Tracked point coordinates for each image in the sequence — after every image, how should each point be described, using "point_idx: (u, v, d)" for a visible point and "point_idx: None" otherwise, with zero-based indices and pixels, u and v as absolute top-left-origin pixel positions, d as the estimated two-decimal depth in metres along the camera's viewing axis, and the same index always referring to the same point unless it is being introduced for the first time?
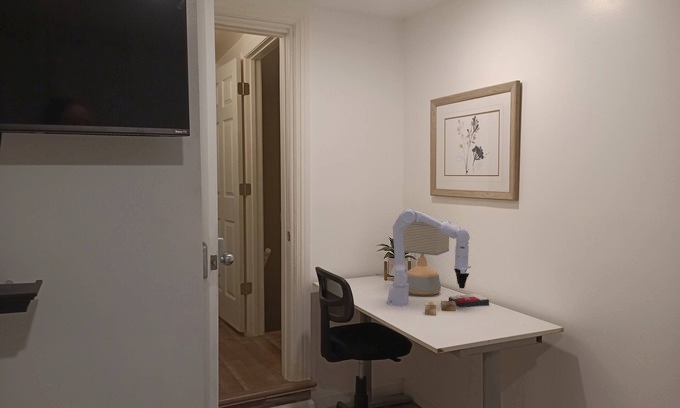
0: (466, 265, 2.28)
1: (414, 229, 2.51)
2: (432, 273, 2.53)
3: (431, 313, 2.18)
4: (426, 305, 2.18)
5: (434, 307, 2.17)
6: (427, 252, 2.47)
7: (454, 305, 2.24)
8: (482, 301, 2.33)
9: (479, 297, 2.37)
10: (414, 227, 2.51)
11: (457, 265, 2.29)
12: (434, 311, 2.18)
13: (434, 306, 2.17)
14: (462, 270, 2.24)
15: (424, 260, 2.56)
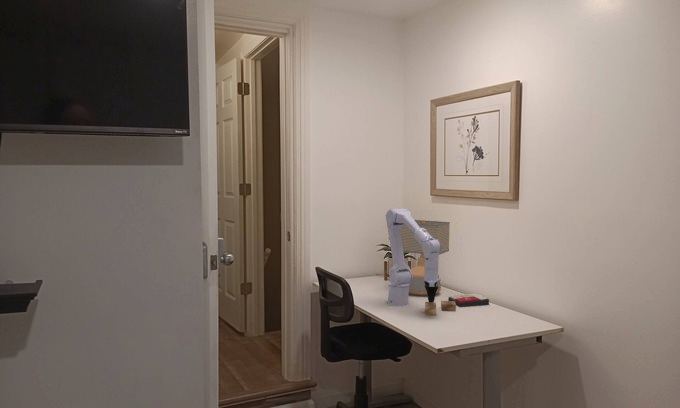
0: (435, 277, 2.17)
1: None
2: None
3: (431, 313, 2.18)
4: (426, 305, 2.18)
5: (434, 307, 2.17)
6: None
7: (454, 305, 2.24)
8: (482, 301, 2.34)
9: (479, 297, 2.38)
10: None
11: (426, 278, 2.17)
12: (434, 311, 2.18)
13: (434, 306, 2.17)
14: (431, 283, 2.12)
15: (424, 260, 2.56)
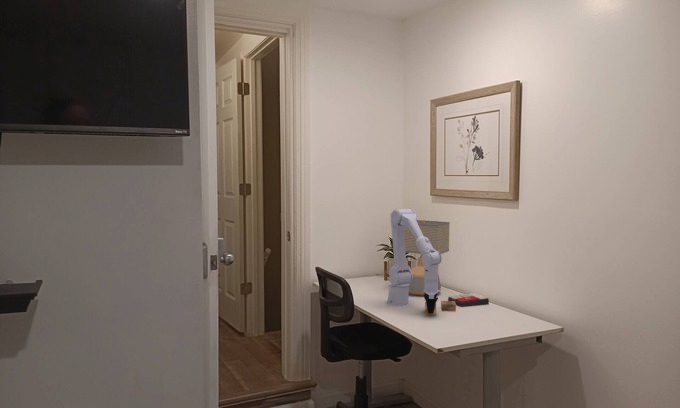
0: (435, 289, 2.17)
1: None
2: None
3: (431, 313, 2.18)
4: (426, 305, 2.18)
5: None
6: None
7: (454, 305, 2.24)
8: (482, 300, 2.35)
9: (478, 296, 2.38)
10: None
11: (426, 289, 2.18)
12: (434, 311, 2.18)
13: None
14: (430, 295, 2.12)
15: None
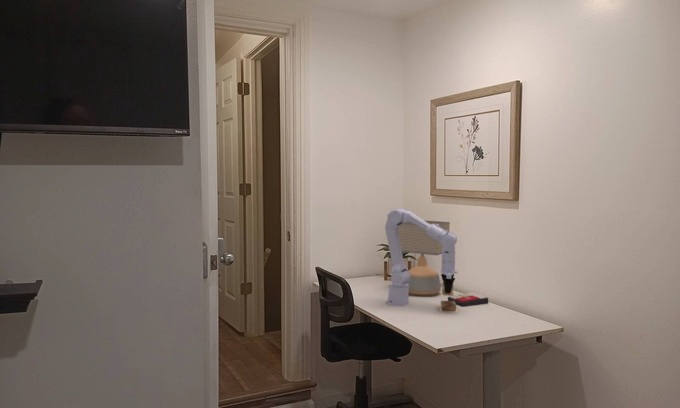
0: (452, 270, 2.23)
1: (414, 229, 2.51)
2: (432, 273, 2.53)
3: (448, 293, 2.24)
4: (443, 285, 2.24)
5: None
6: (427, 252, 2.47)
7: (454, 305, 2.24)
8: (482, 300, 2.36)
9: (478, 296, 2.40)
10: (414, 227, 2.51)
11: (443, 270, 2.23)
12: (451, 291, 2.23)
13: None
14: (448, 275, 2.18)
15: (424, 260, 2.56)
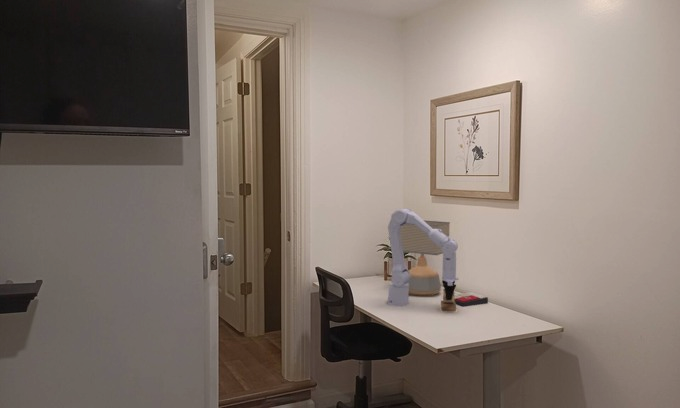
0: (453, 277, 2.23)
1: (414, 229, 2.51)
2: (432, 273, 2.53)
3: (449, 300, 2.24)
4: (444, 292, 2.24)
5: None
6: (427, 252, 2.47)
7: (454, 305, 2.24)
8: (482, 299, 2.36)
9: (477, 295, 2.40)
10: (414, 227, 2.51)
11: (444, 277, 2.24)
12: (452, 298, 2.24)
13: None
14: (449, 282, 2.19)
15: (424, 260, 2.56)
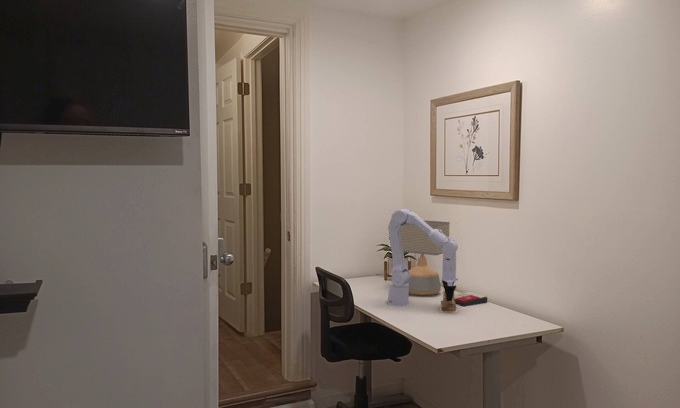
0: (453, 277, 2.23)
1: (414, 229, 2.51)
2: (432, 273, 2.53)
3: (449, 302, 2.24)
4: (444, 294, 2.24)
5: None
6: (427, 252, 2.47)
7: (454, 305, 2.24)
8: (482, 299, 2.37)
9: (477, 295, 2.41)
10: (414, 227, 2.51)
11: (444, 277, 2.24)
12: (452, 300, 2.24)
13: None
14: (449, 283, 2.19)
15: (424, 260, 2.56)
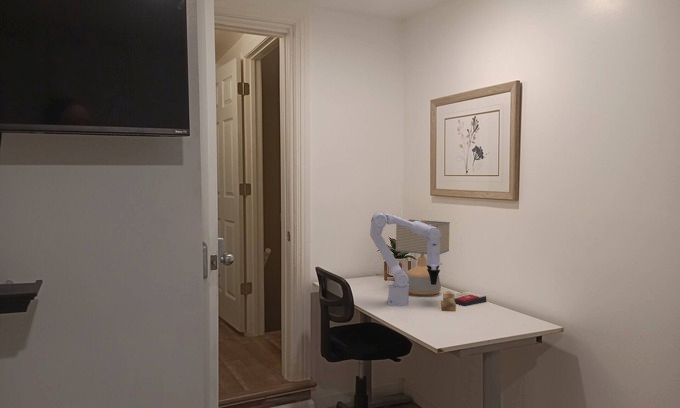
0: (437, 262, 2.33)
1: None
2: None
3: (449, 302, 2.24)
4: (444, 294, 2.24)
5: (452, 296, 2.24)
6: None
7: (454, 305, 2.24)
8: (481, 298, 2.38)
9: (476, 294, 2.42)
10: None
11: (429, 262, 2.33)
12: (452, 300, 2.24)
13: (452, 295, 2.24)
14: (433, 267, 2.28)
15: (424, 260, 2.56)
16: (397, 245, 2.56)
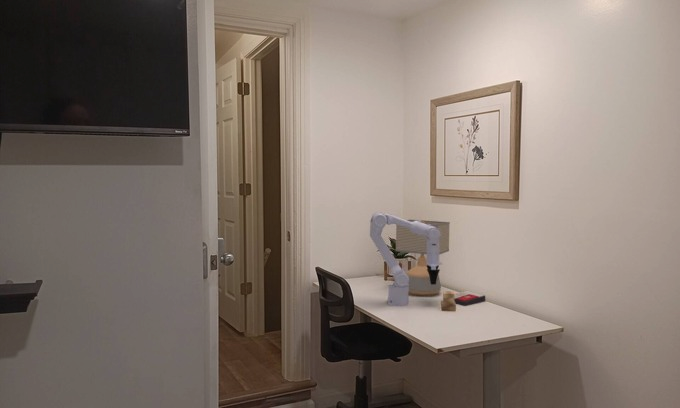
0: (437, 261, 2.33)
1: None
2: None
3: (449, 302, 2.24)
4: (444, 294, 2.24)
5: (452, 296, 2.24)
6: None
7: (454, 305, 2.24)
8: (481, 298, 2.39)
9: (475, 294, 2.43)
10: None
11: (428, 262, 2.34)
12: (452, 300, 2.24)
13: (452, 295, 2.24)
14: (432, 266, 2.28)
15: (424, 260, 2.56)
16: (397, 245, 2.56)
